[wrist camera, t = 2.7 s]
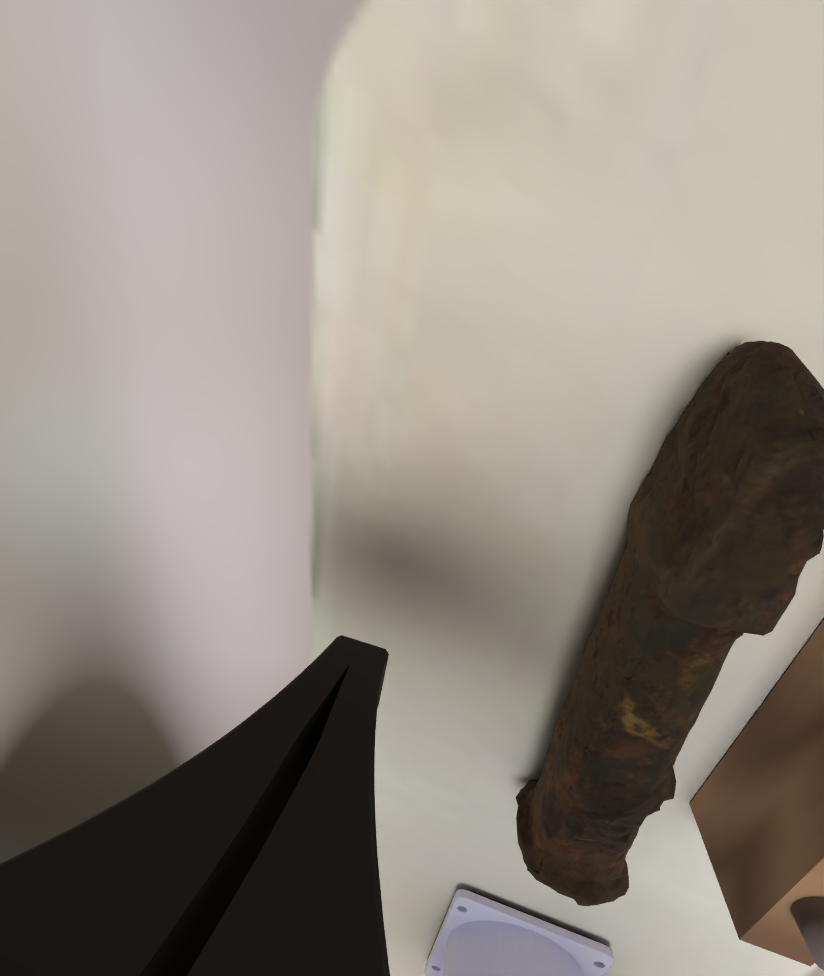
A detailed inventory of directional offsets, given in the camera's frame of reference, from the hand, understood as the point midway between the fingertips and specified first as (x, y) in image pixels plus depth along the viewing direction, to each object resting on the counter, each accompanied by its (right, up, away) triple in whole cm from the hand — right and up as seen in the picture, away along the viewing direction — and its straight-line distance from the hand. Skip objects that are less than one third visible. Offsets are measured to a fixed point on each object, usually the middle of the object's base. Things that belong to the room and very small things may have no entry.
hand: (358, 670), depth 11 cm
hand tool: (+8, 0, +4) cm, 9 cm away
